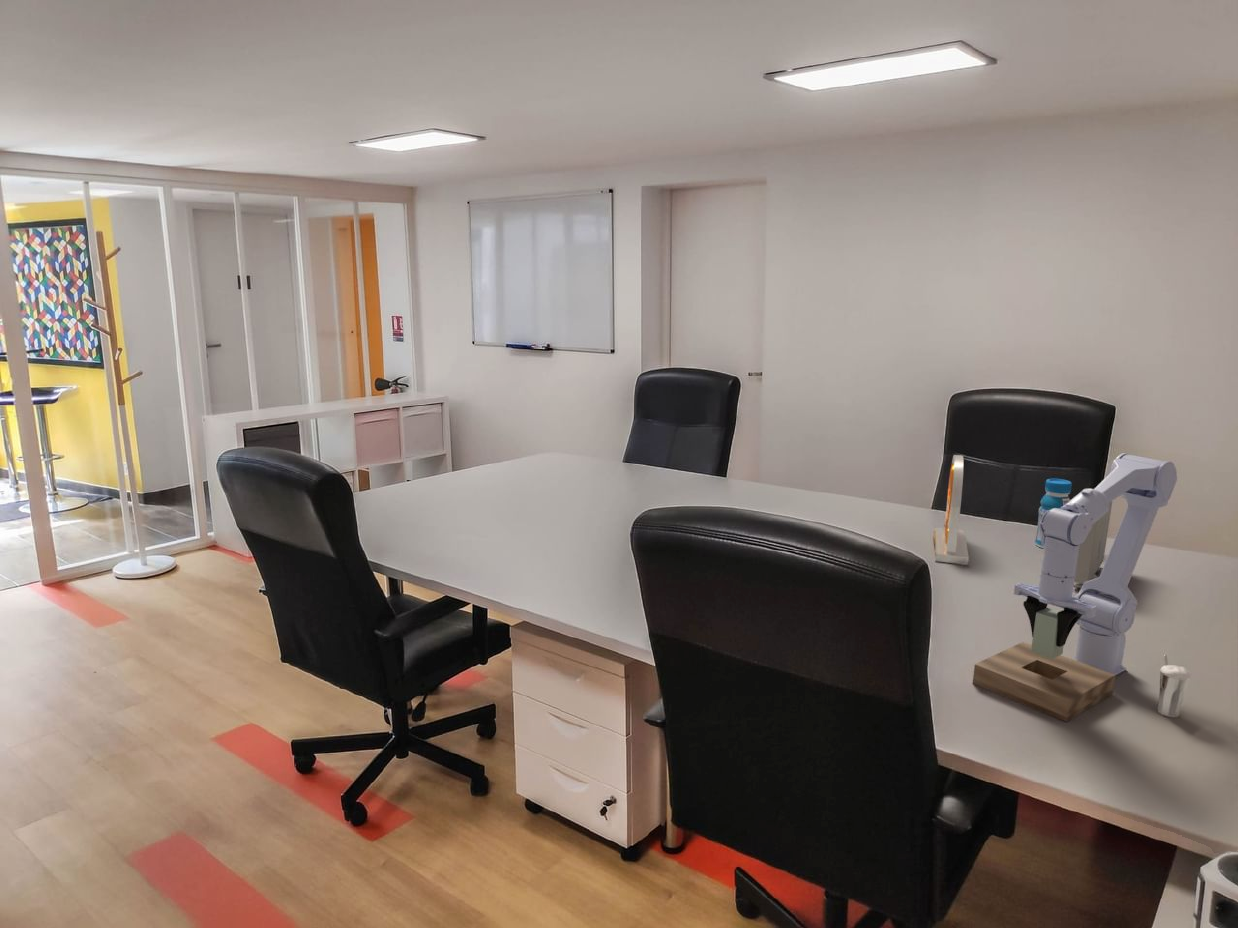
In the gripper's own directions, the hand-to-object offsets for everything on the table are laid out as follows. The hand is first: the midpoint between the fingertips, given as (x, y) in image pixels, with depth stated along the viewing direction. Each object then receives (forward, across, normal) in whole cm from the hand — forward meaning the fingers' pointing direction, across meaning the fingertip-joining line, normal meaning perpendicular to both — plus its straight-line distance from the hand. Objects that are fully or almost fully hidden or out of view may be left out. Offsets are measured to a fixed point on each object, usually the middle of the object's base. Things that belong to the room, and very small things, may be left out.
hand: (1048, 640), depth 162 cm
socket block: (+10, 0, 0) cm, 10 cm away
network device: (+10, -25, +72) cm, 77 cm away
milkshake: (+10, +18, +10) cm, 23 cm away
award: (+10, -60, +64) cm, 88 cm away
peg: (+2, 0, 0) cm, 2 cm away
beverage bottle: (+10, -44, +91) cm, 102 cm away
